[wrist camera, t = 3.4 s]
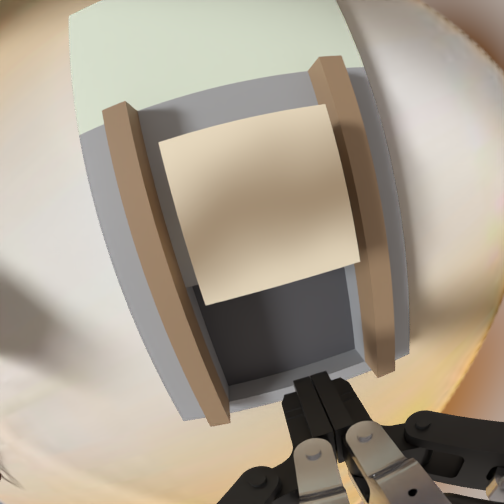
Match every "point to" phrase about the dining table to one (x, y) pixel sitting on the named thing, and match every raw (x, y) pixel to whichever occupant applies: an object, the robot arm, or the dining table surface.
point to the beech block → (261, 201)
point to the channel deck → (164, 212)
